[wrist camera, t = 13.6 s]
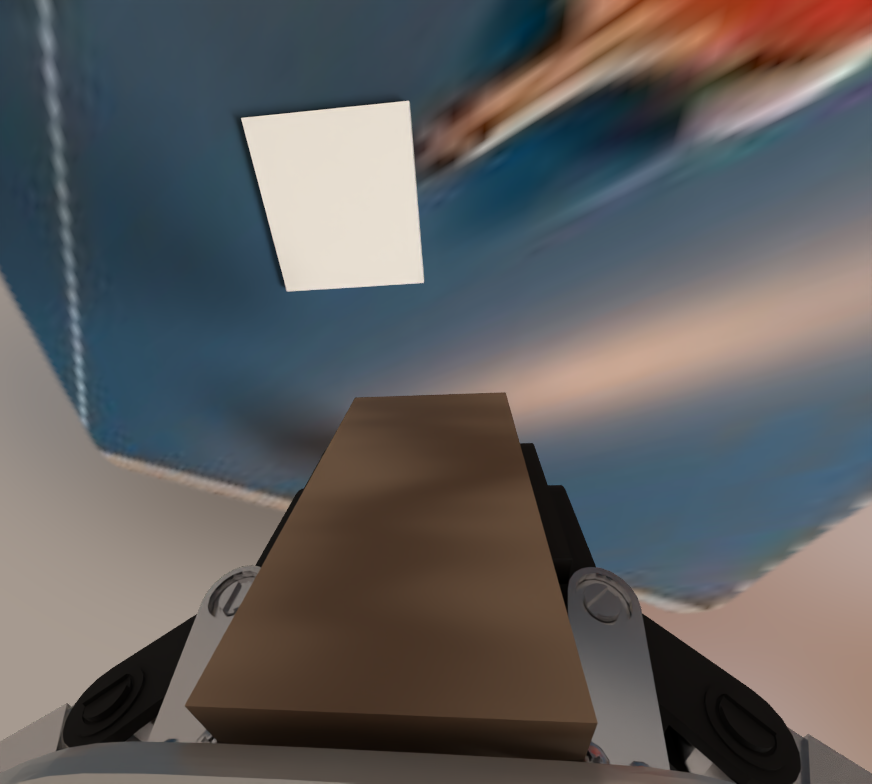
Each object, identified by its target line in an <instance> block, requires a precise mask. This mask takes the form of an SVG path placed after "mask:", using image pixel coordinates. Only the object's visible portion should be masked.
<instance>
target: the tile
mask: <svg viewBox="0 0 872 784" xmlns="http://www.w3.org/2000/svg"><path fill="white" fill-rule="evenodd" d="M241 120H242V124H243V127H244V131H245V135H246V139H247V143H248V146H249V150H250V154H251V158H252V161H253V165H254V169H255V173H256V177H257V180H258V184H259V188H260V192H261V195H262V199H263V203H264V207H265V211H266V214H267V218H268V222H269V226H270V229H271V233H272V237H273V241H274V244H275V248H276V252H277V256H278V260H279V263H280V267H281V271H282V275H283V278H284V282H285V286H286V290H287V291H303V290H318V289H334V288H350V287H366V286H381V285H397V284H413V283H424V272H423V260H422V247H421V235H420V222H419V210H418V198H417V185H416V173H415V161H414V148H413V136H412V123H411V111H410V103H409V101H402V102H392V103H382V104H373V105H363V106H353V107H343V108H334V109H324V110H314V111H304V112H295V113H285V114H275V115H265V116H256V117H246V118H241Z"/></svg>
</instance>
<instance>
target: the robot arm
mask: <svg viewBox="0 0 872 784" xmlns="http://www.w3.org/2000/svg"><path fill="white" fill-rule="evenodd" d="M520 446H521V450H522V453H523V457H524V461H525V464H526V468H527V471H528V475H529V478H530V482H531V486H532V489H533V493H534V496H535V500H536V504H537V507H538V511H539V514H540V518H541V521H542V525H543V529H544V532H545V536H546V539H547V543H548V546H549V550H550V554H551V557H552V561H553V564H554V568H555V572H556V575H557V579H558V582H559V586H560V589H561V593H562V597H563V600H564V604H565V607H566V611H567V615H568V618H569V622H570V625H571V629H572V632H573V636H574V640H575V643H576V647H577V650H578V654H579V658H580V661H581V665H582V668H583V672H584V675H585V679H586V683H587V686H588V690H589V693H590V697H591V701H592V704H593V708H594V711H595V715H596V718H597V722H598V724H597V727H596V729H595V732H594V735H593V738H592V740H591V743H590V746H589V748H588V751H587V754H586V756H585V759H580V760H568V761H557V760H539V759H521V758H503V757H485V756H467V755H449V754H429V753H409V752H389V751H369V750H349V749H328V748H308V747H285V746H262V745H240V744H232V743H226V742H220V741H217V740H216V739H215V738H214V737H213V736H212V735H211V734H210V733H209V732H208V731H207V730H206V729H205V727H204V726H203V725H202V724H201V723H200V722H199V721H198V720H197V719H196V718H195V717H194V716H193V715H192V714H191V712H190V711H189V710H188V709H187V708H186V707H185V704H186V702H187V700H188V698H189V697H190V695H191V693H192V691H193V689H194V688H195V686H196V684H197V682H198V680H199V679H200V677H201V675H202V673H203V671H204V670H205V668H206V666H207V664H208V662H209V661H210V659H211V657H212V655H213V653H214V651H215V650H216V648H217V646H218V644H219V642H220V641H221V639H222V637H223V635H224V633H225V632H226V630H227V628H228V626H229V624H230V623H231V621H232V619H233V617H234V615H235V614H236V612H237V610H238V608H239V606H240V605H241V603H242V601H243V599H244V597H245V596H246V594H247V592H248V590H249V588H250V587H251V585H252V583H253V581H254V579H255V578H256V576H257V574H258V572H259V570H260V569H261V567H262V565H263V563H264V561H265V560H266V558H267V556H268V554H269V552H270V550H271V549H272V547H273V545H274V543H275V541H276V540H277V538H278V536H279V534H280V532H281V531H282V529H283V527H284V525H285V523H286V522H287V520H288V518H289V516H290V514H291V513H292V511H293V509H294V507H295V505H296V504H297V502H298V500H299V498H300V496H301V495H302V493H303V491H304V489H305V488H304V489H301V490H299V491H298V493H297V494H296V495H295V497H294V499H293V501H292V502H291V504H290V506H289V508H288V509H287V511H286V513H285V515H284V516H283V518H282V520H281V522H280V523H279V525H278V527H277V529H276V530H275V532H274V534H273V536H272V537H271V539H270V541H269V543H268V544H267V546H266V548H265V550H264V551H263V553H262V555H261V557H260V558H259V560H258V562H257V564H256V565H255V566H254V565H249V566H242V567H239V568H237V569H234V570H232V571H231V572H229V573H227V574H225V575H224V576H223V577H221V578H220V579H219V580H218V581H216V582H215V583H214V584H213V585H212V587H211V588H210V589H209V590H208V591H207V593H206V595H205V597H204V599H203V600H202V603H201V605H200V608H199V610H198V614H196V615H195V616H193V617H192V618H190V619H188V620H187V621H185V622H184V623H182V624H181V625H179V626H177V627H176V628H174V629H173V630H171V631H170V632H168V633H167V634H165V635H163V636H162V637H161V638H159V639H157V640H156V641H154V642H152V643H151V644H149V645H148V646H146V647H145V648H143V649H142V650H140V651H138V652H137V653H135V654H134V655H132V656H131V657H129V658H127V659H126V660H124V661H123V662H121V663H120V664H118V665H116V666H115V667H113V668H112V669H110V670H109V671H108V672H106V673H105V674H104V675H102V676H101V677H100V678H98V679H97V680H96V681H95V682H94V683H93V684H92V685H91V686H90V687H89V688H88V689H87V690H86V691H85V692H84V693H83V694H82V696H81V697H80V698H79V700H78V701H77V702H76V703H75V705H74V706H72V707H71V706H70V705H69V704H67V703H66V704H65V705H63V706H62V707H59V708H58V709H56V710H54V711H52V712H51V713H49V714H47V715H45V716H44V717H42V718H40V719H39V720H37V721H35V722H33V723H32V724H30V725H28V726H26V727H25V728H23V729H21V730H19V731H18V732H16V733H14V734H12V735H11V736H9V737H7V738H6V739H4V740H2V741H0V784H872V774H871V773H870V772H868V771H867V770H865V769H863V768H862V767H860V766H858V765H857V764H855V763H854V762H852V761H851V760H849V759H847V758H846V757H844V756H843V755H841V754H839V753H838V752H836V751H835V750H833V749H831V748H830V747H828V746H827V745H825V744H823V743H822V742H820V741H819V740H817V739H815V738H814V737H812V736H811V735H809V734H807V735H806V736H805V737H802V736H800V735H799V734H797V733H795V732H794V731H792V730H791V729H789V728H788V727H787V726H786V724H785V723H784V721H783V720H782V718H781V717H780V716H779V715H778V714H777V713H776V712H775V711H774V710H773V708H772V707H771V706H770V705H769V704H768V703H767V702H766V701H765V700H764V699H762V698H761V697H760V696H759V695H758V694H756V693H755V692H754V691H753V690H751V689H750V688H749V687H747V686H746V685H744V684H743V683H741V682H740V681H739V680H737V679H736V678H734V677H733V676H731V675H730V674H728V673H727V672H726V671H724V670H723V669H721V668H720V667H718V666H717V665H716V664H714V663H713V662H711V661H710V660H708V659H707V658H705V657H704V656H702V655H701V654H700V653H698V652H697V651H695V650H694V649H693V648H691V647H690V646H688V645H687V644H685V643H684V642H682V641H681V640H680V639H678V638H677V637H675V636H674V635H673V634H671V633H670V632H668V631H667V630H665V629H664V628H663V627H661V626H659V625H658V624H657V623H655V622H654V621H652V620H651V619H649V618H648V617H647V616H645V615H644V614H642V612H641V607H640V604H639V601H638V598H637V596H636V594H635V593H634V591H633V590H632V588H631V587H630V586H629V585H628V584H627V583H626V582H625V581H624V580H623V579H622V578H620V577H619V576H617V575H615V574H614V573H612V572H610V571H607V570H605V569H602V568H596V566H595V563H594V561H593V558H592V556H591V553H590V551H589V548H588V546H587V543H586V541H585V538H584V536H583V533H582V530H581V528H580V525H579V523H578V520H577V518H576V515H575V513H574V510H573V508H572V505H571V503H570V500H569V498H568V495H567V493H566V490H565V488H564V487H563V486H562V485H547V482H546V479H545V476H544V473H543V470H542V467H541V464H540V461H539V458H538V455H537V452H536V449H535V446H534V444H533V443H521V444H520ZM326 450H327V449H326ZM326 450H325V451H326ZM324 453H325V452H324ZM324 453H323V455H324ZM323 455H322V457H323ZM322 457H321V459H322ZM321 459H320V460H321ZM319 462H320V461H319ZM319 462H318V464H319ZM318 464H317V466H318ZM317 466H316V468H317ZM316 468H315V469H316ZM314 471H315V470H314ZM314 471H313V473H314ZM313 473H312V475H313ZM312 475H311V477H312ZM311 477H310V478H311ZM309 480H310V479H309ZM309 480H308V482H309ZM308 482H307V484H308ZM307 484H306V486H307ZM306 486H305V487H306Z"/></svg>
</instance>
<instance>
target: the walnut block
mask: <svg viewBox="0 0 872 784" xmlns="http://www.w3.org/2000/svg"><path fill="white" fill-rule="evenodd" d="M185 707H186V708H187V709H188V710H189V711H190V712H191V714H192V715H193V716H194V717H195V718H196V719H197V720H198V721H199V722H200V723H201V724H202V725H203V726H204V727H205V729H206V730H207V731H208V732H209V733H210V734H211V735H212V736H213V737H214V738H215V739H216V740H217V741H220V742H226V743H232V744H240V745H262V746H285V747H308V748H328V749H349V750H369V751H389V752H409V753H429V754H449V755H467V756H485V757H503V758H521V759H539V760H557V761H568V760H580V759H585V756H586V754H587V751H588V748H589V746H590V743H591V740H592V738H593V735H594V732H595V729H596V727H597V724H598V722H597V718H596V715H595V711H594V708H593V704H592V701H591V697H590V693H589V690H588V686H587V683H586V679H585V675H584V672H583V668H582V665H581V661H580V658H579V654H578V650H577V647H576V643H575V640H574V636H573V632H572V629H571V625H570V622H569V618H568V615H567V611H566V607H565V604H564V600H563V597H562V593H561V589H560V586H559V582H558V579H557V575H556V572H555V568H554V564H553V561H552V557H551V554H550V550H549V546H548V543H547V539H546V536H545V532H544V529H543V525H542V521H541V518H540V514H539V511H538V507H537V504H536V500H535V496H534V493H533V489H532V486H531V482H530V478H529V475H528V471H527V468H526V464H525V461H524V457H523V453H522V450H521V446H520V443H519V439H518V435H517V432H516V428H515V425H514V421H513V418H512V414H511V410H510V407H509V403H508V400H507V396H506V393H477V394H448V395H419V396H390V397H360V398H355V399H354V401H353V403H352V404H351V406H350V408H349V410H348V412H347V413H346V415H345V417H344V419H343V421H342V422H341V424H340V426H339V428H338V430H337V431H336V433H335V435H334V437H333V439H332V440H331V442H330V444H329V446H328V448H327V450H326V451H325V453H324V455H323V457H322V459H321V460H320V462H319V464H318V466H317V468H316V469H315V471H314V473H313V475H312V477H311V478H310V480H309V482H308V484H307V486H306V487H305V489H304V491H303V493H302V495H301V496H300V498H299V500H298V502H297V504H296V505H295V507H294V509H293V511H292V513H291V514H290V516H289V518H288V520H287V522H286V523H285V525H284V527H283V529H282V531H281V532H280V534H279V536H278V538H277V540H276V541H275V543H274V545H273V547H272V549H271V550H270V552H269V554H268V556H267V558H266V560H265V561H264V563H263V565H262V567H261V569H260V570H259V572H258V574H257V576H256V578H255V579H254V581H253V583H252V585H251V587H250V588H249V590H248V592H247V594H246V596H245V597H244V599H243V601H242V603H241V605H240V606H239V608H238V610H237V612H236V614H235V615H234V617H233V619H232V621H231V623H230V624H229V626H228V628H227V630H226V632H225V633H224V635H223V637H222V639H221V641H220V642H219V644H218V646H217V648H216V650H215V651H214V653H213V655H212V657H211V659H210V661H209V662H208V664H207V666H206V668H205V670H204V671H203V673H202V675H201V677H200V679H199V680H198V682H197V684H196V686H195V688H194V689H193V691H192V693H191V695H190V697H189V698H188V700H187V702H186V704H185Z"/></svg>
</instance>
